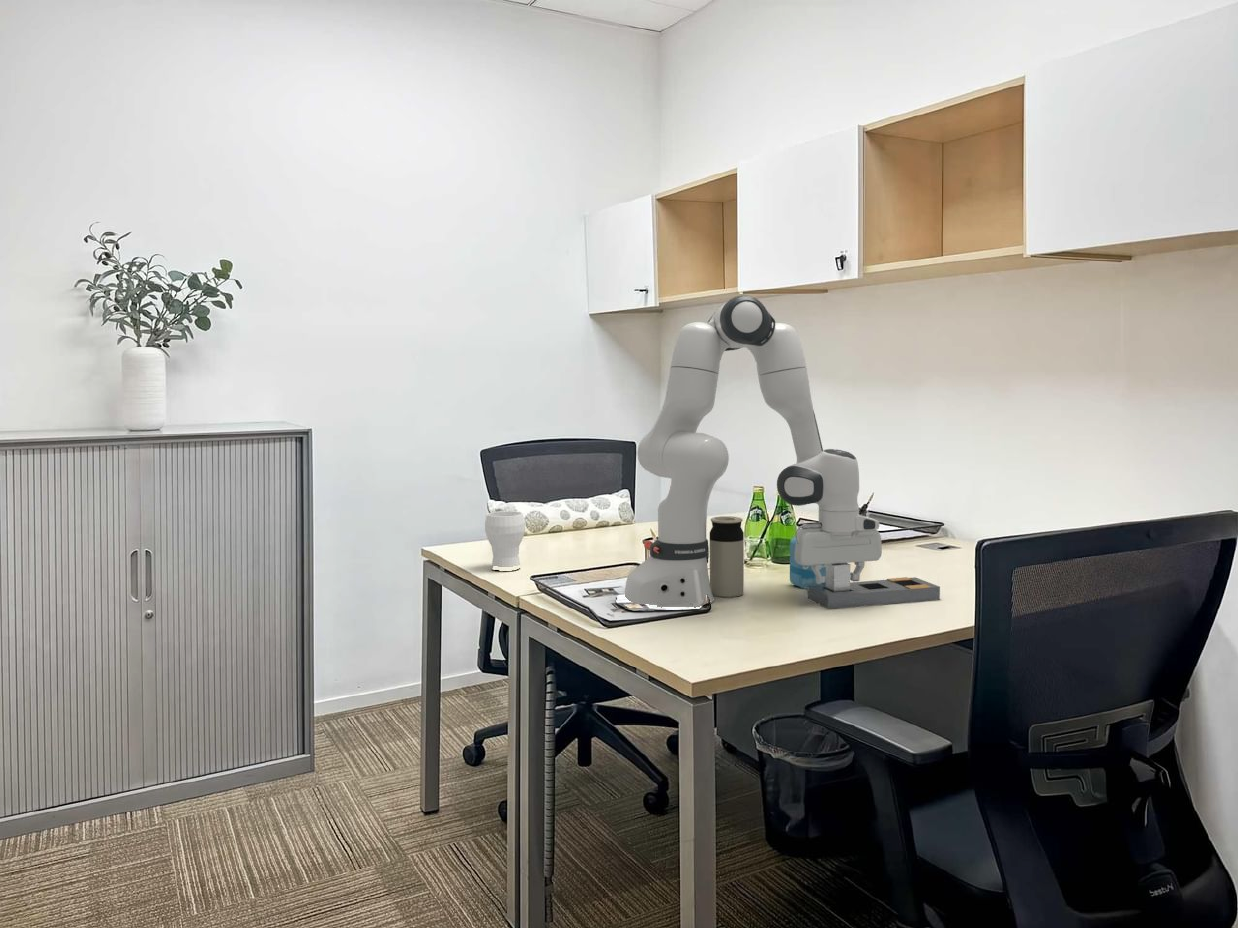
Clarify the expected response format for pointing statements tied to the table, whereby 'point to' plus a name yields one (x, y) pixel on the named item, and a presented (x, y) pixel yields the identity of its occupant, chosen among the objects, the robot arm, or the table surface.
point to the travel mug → (726, 557)
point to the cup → (505, 536)
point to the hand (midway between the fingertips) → (837, 582)
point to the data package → (802, 570)
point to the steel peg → (838, 577)
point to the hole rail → (875, 593)
